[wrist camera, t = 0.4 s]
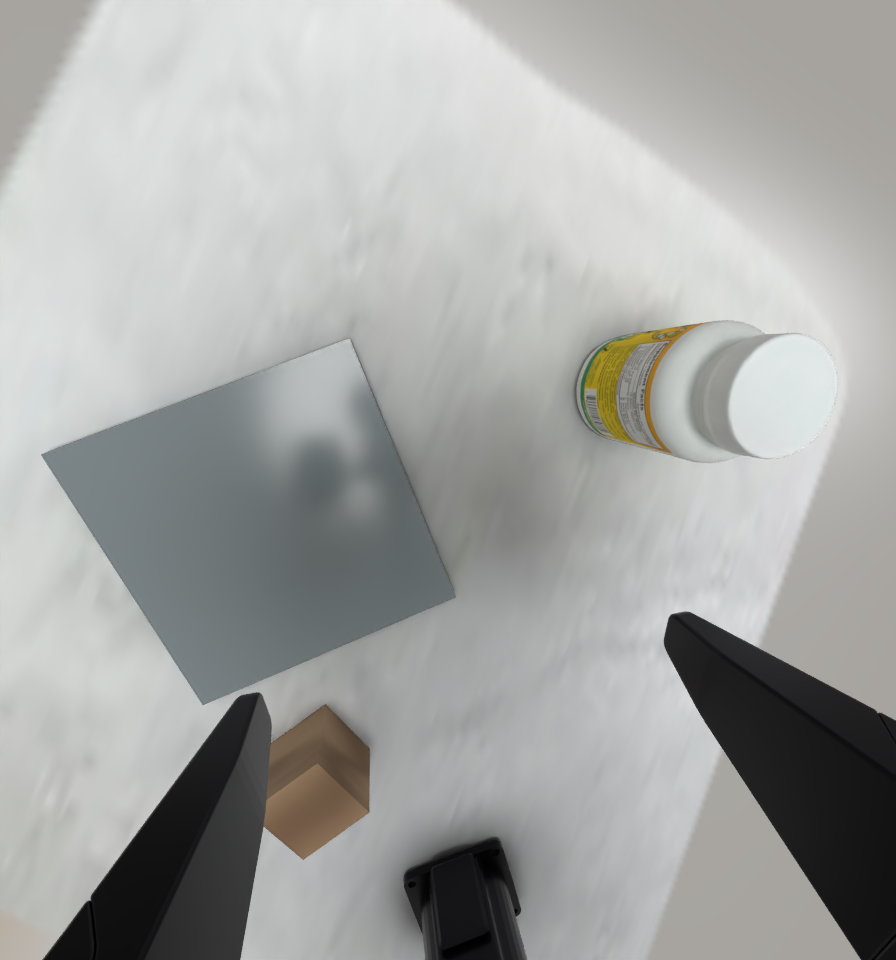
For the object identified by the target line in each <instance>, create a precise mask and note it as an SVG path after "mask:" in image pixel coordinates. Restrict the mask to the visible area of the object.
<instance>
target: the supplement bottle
mask: <svg viewBox="0 0 896 960" xmlns="http://www.w3.org/2000/svg"><path fill="white" fill-rule="evenodd" d="M837 388H838V376H837V370H836V366H835V363H834V360H833V358H832V356H831V354H830V353H829V351H828V350H827V349H826V347H825V346H824V345H823V344H822V343H820V342H819V341H818V340H816V339H814V338H812V337H810V336H807V335H803V334H800V333H785V334H765V333H764V332H762V331H761V330H759V329H758V328H756V327H754V326H751V325H749V324H746V323H743V322H738V321H714V322H707V323H700V324H693V325H686V326H680V327H674V328H668V329H662V330H655V331H648V332H641V333H634V334H629V335H624V336H620V337H617V338H614V339H612V340H609V341H607V342H605V343H603V344H602V345H600V346H599V347H597V348H596V349H595V350H594V351H593V352H592V353H591V354H590V355H589V357H588V358H587V360H586V362H585V363H584V365H583V367H582V369H581V372H580V375H579V378H578V382H577V389H576V393H577V403H578V407H579V411H580V413H581V415H582V417H583V419H584V421H585V422H586V424H587V425H588V426H589V427H590V428H591V429H592V430H593V431H595V432H596V433H597V434H599V435H601V436H603V437H605V438H608V439H611V440H615V441H619V442H623V443H626V444H630V445H634V446H638V447H641V448H645V449H649V450H653V451H656V452H660V453H664V454H667V455H671V456H674V457H678V458H681V459H685V460H689V461H693V462H699V463H716V462H722V461H726V460H730V459H733V458H735V457H738V456H740V455H743V456H751V457H756V458H761V459H778V458H783V457H787V456H790V455H792V454H794V453H796V452H798V451H800V450H802V449H803V448H804V447H806V446H807V445H808V444H809V443H811V442H812V441H813V440H814V439H815V437H817V435H818V434H819V433H820V432H821V430H822V429H823V428H824V426H825V424H826V423H827V421H828V419H829V417H830V415H831V413H832V410H833V407H834V404H835V400H836V396H837Z"/></svg>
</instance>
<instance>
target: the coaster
mask: <svg viewBox="0 0 896 960" xmlns="http://www.w3.org/2000/svg"><path fill="white" fill-rule="evenodd" d="M41 455H42V457H43V459H44V460H45V462H46V463H47V465H48V466H49V468H50V469H51V471H52V473H53V474H54V476H55V477H56V479H57V480H58V482H59V483H60V485H61V486H62V488H63V490H64V491H65V493H66V494H67V496H68V497H69V499H70V500H71V502H72V503H73V505H74V507H75V508H76V510H77V511H78V513H79V514H80V516H81V517H82V519H83V520H84V522H85V524H86V525H87V527H88V528H89V530H90V531H91V533H92V534H93V536H94V537H95V539H96V541H97V542H98V544H99V545H100V547H101V548H102V550H103V551H104V553H105V555H106V556H107V558H108V559H109V561H110V562H111V564H112V565H113V567H114V568H115V570H116V572H117V573H118V575H119V576H120V578H121V579H122V581H123V582H124V584H125V585H126V587H127V589H128V590H129V592H130V593H131V595H132V596H133V598H134V599H135V601H136V602H137V604H138V606H139V607H140V609H141V610H142V612H143V613H144V615H145V616H146V618H147V619H148V621H149V623H150V624H151V626H152V627H153V629H154V630H155V632H156V633H157V635H158V636H159V638H160V640H161V641H162V643H163V644H164V646H165V647H166V649H167V650H168V652H169V654H170V655H171V657H172V658H173V660H174V661H175V663H176V664H177V666H178V667H179V669H180V671H181V672H182V674H183V675H184V677H185V678H186V680H187V681H188V683H189V684H190V686H191V688H192V689H193V691H194V692H195V694H196V695H197V697H198V698H199V700H200V701H201V703H202V705H204V704H207V703H209V702H211V701H214V700H216V699H218V698H221V697H223V696H225V695H228V694H230V693H232V692H235V691H237V690H240V689H242V688H244V687H247V686H249V685H251V684H254V683H256V682H258V681H261V680H263V679H265V678H268V677H270V676H272V675H275V674H277V673H279V672H282V671H284V670H286V669H289V668H291V667H293V666H296V665H298V664H300V663H303V662H305V661H307V660H310V659H312V658H314V657H317V656H319V655H321V654H324V653H326V652H328V651H331V650H333V649H335V648H338V647H340V646H342V645H345V644H347V643H349V642H352V641H354V640H356V639H359V638H361V637H363V636H366V635H368V634H371V633H373V632H375V631H378V630H380V629H382V628H385V627H387V626H389V625H392V624H394V623H396V622H399V621H401V620H403V619H406V618H408V617H410V616H413V615H415V614H417V613H420V612H422V611H424V610H427V609H429V608H431V607H434V606H436V605H438V604H441V603H443V602H445V601H448V600H450V599H452V598H455V597H456V596H455V593H454V591H453V588H452V586H451V583H450V581H449V579H448V576H447V574H446V571H445V569H444V566H443V564H442V562H441V559H440V557H439V554H438V552H437V549H436V547H435V545H434V542H433V540H432V537H431V535H430V532H429V530H428V528H427V525H426V523H425V520H424V518H423V515H422V513H421V511H420V508H419V506H418V503H417V501H416V498H415V496H414V493H413V491H412V489H411V486H410V484H409V481H408V479H407V476H406V474H405V472H404V469H403V467H402V464H401V462H400V459H399V457H398V455H397V452H396V450H395V447H394V445H393V442H392V440H391V438H390V435H389V433H388V430H387V428H386V425H385V423H384V421H383V418H382V416H381V413H380V411H379V408H378V406H377V404H376V401H375V399H374V396H373V394H372V391H371V389H370V387H369V384H368V382H367V379H366V377H365V374H364V372H363V370H362V367H361V365H360V362H359V360H358V357H357V355H356V353H355V350H354V348H353V345H352V343H351V340H350V338H348V339H346V340H343V341H340V342H338V343H335V344H332V345H330V346H327V347H324V348H322V349H319V350H317V351H314V352H311V353H309V354H306V355H303V356H301V357H298V358H295V359H293V360H290V361H287V362H285V363H282V364H279V365H277V366H274V367H271V368H269V369H266V370H264V371H261V372H258V373H256V374H253V375H250V376H248V377H245V378H242V379H240V380H237V381H234V382H232V383H229V384H226V385H224V386H221V387H218V388H216V389H213V390H211V391H208V392H205V393H203V394H200V395H197V396H195V397H192V398H189V399H187V400H184V401H181V402H179V403H176V404H173V405H171V406H168V407H165V408H163V409H160V410H158V411H155V412H152V413H150V414H147V415H144V416H142V417H139V418H136V419H134V420H131V421H128V422H126V423H123V424H120V425H118V426H115V427H112V428H110V429H107V430H105V431H102V432H99V433H97V434H94V435H91V436H89V437H86V438H83V439H81V440H78V441H75V442H73V443H70V444H67V445H65V446H62V447H59V448H57V449H54V450H52V451H49V452H46V453H44V454H41Z"/></svg>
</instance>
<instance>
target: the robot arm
mask: <svg viewBox="0 0 896 960" xmlns="http://www.w3.org/2000/svg"><path fill="white" fill-rule="evenodd" d="M664 646H665V649H666V651H667V653H668V655H669V657H670V659H671V661H672V663H673V665H674V667H675V668H676V670H677V672H678V674H679V676H680V678H681V680H682V682H683V683H684V685H685V687H686V689H687V691H688V693H689V695H690V697H691V699H692V700H693V702H694V704H695V706H696V708H697V709H698V711H699V713H700V715H701V716H702V718H703V719H704V721H705V723H706V724H707V726H708V727H709V729H710V730H711V732H712V733H713V735H714V736H715V738H716V740H717V741H718V743H719V744H720V746H721V747H722V749H723V750H724V752H725V753H726V755H727V756H728V758H729V759H730V761H731V762H732V764H733V765H734V767H735V768H736V770H737V771H738V773H739V775H740V776H741V778H742V779H743V781H744V782H745V784H746V785H747V787H748V788H749V790H750V791H751V793H752V794H753V796H754V797H755V799H756V800H757V802H758V804H759V805H760V806H761V808H762V810H763V811H764V813H765V814H766V816H767V817H768V819H769V820H770V822H771V823H772V825H773V826H774V828H775V829H776V831H777V832H778V834H779V836H780V837H781V839H782V840H783V841H784V843H785V845H786V846H787V848H788V849H789V851H790V852H791V854H792V855H793V857H794V858H795V860H796V861H797V863H798V864H799V866H800V867H801V869H802V870H803V872H804V874H805V875H806V877H807V878H808V880H809V881H810V883H811V884H812V886H813V887H814V889H815V890H816V892H817V893H818V895H819V896H820V898H821V900H822V901H823V903H824V904H825V906H826V907H827V909H828V910H829V912H830V913H831V915H832V916H833V918H834V919H835V921H836V922H837V924H838V925H839V927H840V928H841V930H842V931H843V933H844V935H845V936H846V937H847V939H848V941H849V942H850V944H851V945H852V947H853V948H854V950H855V951H856V953H857V954H858V956H859V957H860V959H861V960H896V720H894V719H892V718H890V717H888V716H886V715H884V714H882V713H877V711H876V710H875V709H873V708H871V707H869V706H867V705H865V704H863V703H861V702H859V701H858V700H856V699H854V698H852V697H850V696H848V695H846V694H844V693H842V692H840V691H839V690H837V689H835V688H833V687H831V686H829V685H827V684H825V683H823V682H822V681H820V680H818V679H816V678H814V677H812V676H810V675H808V674H806V673H805V672H803V671H801V670H799V669H797V668H795V667H793V666H791V665H789V664H788V663H786V662H784V661H782V660H780V659H778V658H776V657H774V656H772V655H770V654H769V653H767V652H765V651H763V650H761V649H759V648H757V647H755V646H753V645H752V644H750V643H748V642H746V641H744V640H742V639H740V638H738V637H736V636H734V635H733V634H731V633H729V632H727V631H725V630H723V629H721V628H719V627H717V626H716V625H714V624H712V623H710V622H708V621H706V620H704V619H702V618H700V617H698V616H697V615H695V614H693V613H691V612H680V613H675V614H671V615H670V617H669V619H668V623H667V627H666V632H665V636H664ZM271 730H272V726H271V718H270V715H269V712H268V710H267V707H266V704H265V701H264V699H263V696H262V694H261V693H257V692H256V693H251V694H246V695H241V696H239V697H238V698H237V699H236V700H235V701H234V703H233V704H232V705H231V707H230V708H229V710H228V711H227V712H226V714H225V715H224V716H223V718H222V719H221V720H220V722H219V723H218V724H217V726H216V727H215V728H214V730H213V731H212V732H211V734H210V735H209V737H208V738H207V739H206V741H205V742H204V743H203V745H202V746H201V747H200V749H199V750H198V751H197V753H196V754H195V755H194V757H193V758H192V760H191V761H190V762H189V764H188V765H187V766H186V768H185V769H184V770H183V772H182V773H181V774H180V776H179V777H178V778H177V780H176V781H175V783H174V784H173V785H172V787H171V788H170V789H169V791H168V792H167V793H166V795H165V796H164V797H163V799H162V800H161V801H160V803H159V804H158V805H157V807H156V808H155V810H154V811H153V812H152V814H151V815H150V816H149V818H148V819H147V820H146V822H145V823H144V824H143V826H142V827H141V828H140V830H139V831H138V833H137V834H136V835H135V837H134V838H133V839H132V841H131V842H130V843H129V845H128V846H127V847H126V849H125V850H124V851H123V853H122V854H121V856H120V857H119V858H118V860H117V861H116V862H115V864H114V865H113V866H112V868H111V869H110V870H109V872H108V873H107V874H106V876H105V877H104V878H103V880H102V881H101V883H100V884H99V885H98V887H97V888H96V889H95V891H94V892H93V893H92V895H91V901H90V900H89V901H87V902H86V903H85V904H84V905H83V907H82V908H81V909H80V911H79V912H78V913H77V915H76V916H75V917H74V919H73V920H72V921H71V923H70V924H69V926H68V927H67V928H66V930H65V931H64V932H63V934H62V935H61V936H60V937H59V939H58V940H57V941H56V943H55V944H54V945H53V947H52V948H51V949H50V951H49V952H48V953H47V955H46V956H45V957H44V958H43V960H240V958H241V952H242V946H243V940H244V935H245V929H246V923H247V918H248V912H249V906H250V900H251V895H252V889H253V883H254V877H255V872H256V866H257V860H258V854H259V849H260V843H261V837H262V832H263V826H264V819H265V812H266V801H267V787H268V773H269V759H270V745H271ZM404 888H405V891H406V893H407V896H408V898H409V901H410V903H411V906H412V908H413V911H414V914H415V916H416V919H417V921H418V924H419V926H420V929H421V931H422V934H423V940H424V950H425V960H527V958H526V954H525V950H524V946H523V943H522V939H521V935H520V931H519V928H518V924H517V920H516V916H518V915H519V914H520V912H521V907H520V904H519V900H518V897H517V894H516V890H515V887H514V884H513V880H512V877H511V874H510V870H509V867H508V864H507V860H506V857H505V854H504V850H503V847H502V844H501V842H500V841H498V840H493V841H490V842H487V843H485V844H482V845H479V846H477V847H474V848H471V849H469V850H466V851H464V852H461V853H458V854H456V855H453V856H450V857H448V858H445V859H442V860H440V861H437V862H435V863H432V864H429V865H427V866H424V867H421V868H419V869H416V870H413V871H411V872H409V873H407V874H406V875H405V876H404Z"/></svg>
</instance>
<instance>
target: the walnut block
mask: <svg viewBox="0 0 896 960" xmlns="http://www.w3.org/2000/svg"><path fill="white" fill-rule="evenodd" d="M369 771H370V749H369V748H368V747H367V746H366V745H365V744H364V743H363V742H362V741H361V740H360V739H359V738H358V737H357V736H356V735H355V734H354V733H353V732H352V731H351V730H350V729H349V727H348V726H347V725H346V724H345V723H344V722H343V721H342V720H341V719H340V718H339V717H338V716H337V715H336V714H335V713H334V712H333V711H332V710H331V709H330V708H329V707H328V706H327V705H326V704H325V705H324V706H323V707H321V708H320V709H318V710H317V711H316V712H314V713H313V714H311V715H310V716H309V717H307V718H306V719H304V720H303V721H302V722H300V723H299V724H297V725H296V726H295V727H293V728H292V729H290V730H289V731H288V732H286V733H285V734H284V735H282V736H281V737H279V738H278V739H277V740H275V741H274V742H272V743H271V745H270V759H269V773H268V787H267V801H266V812H265V819H264V827H265V828H266V829H267V830H268V831H270V832H271V833H272V834H273V835H274V836H276V837H277V838H278V839H279V840H280V841H282V842H283V843H284V844H285V845H286V846H288V847H289V848H290V849H291V850H292V851H294V852H295V853H296V854H297V855H298V856H299V857H301V858H302V859H303V860H304V859H305V858H307V857H308V856H309V855H311V854H312V853H313V852H315V851H316V850H318V849H319V848H320V847H322V846H323V845H325V844H326V843H327V842H329V841H330V840H332V839H333V838H334V837H336V836H337V835H339V834H340V833H341V832H343V831H344V830H346V829H347V828H348V827H350V826H351V825H352V824H354V823H355V822H357V821H358V820H359V819H361V818H362V817H364V816H365V815H366V814H368V813H369Z"/></svg>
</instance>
